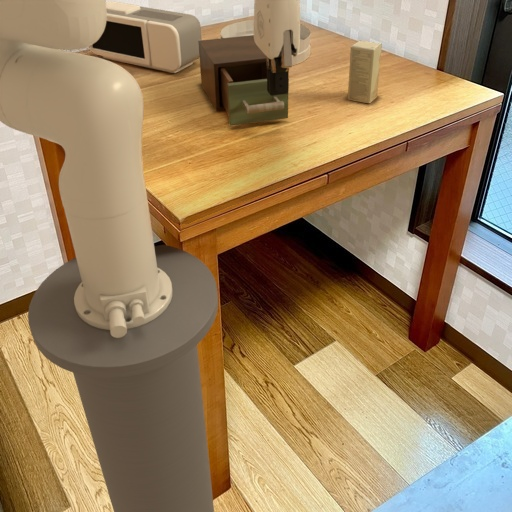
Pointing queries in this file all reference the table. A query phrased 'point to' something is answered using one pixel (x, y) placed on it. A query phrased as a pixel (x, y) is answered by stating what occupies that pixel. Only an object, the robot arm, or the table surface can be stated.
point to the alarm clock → (149, 37)
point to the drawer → (249, 95)
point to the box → (364, 71)
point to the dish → (248, 29)
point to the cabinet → (225, 61)
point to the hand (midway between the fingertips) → (277, 92)
